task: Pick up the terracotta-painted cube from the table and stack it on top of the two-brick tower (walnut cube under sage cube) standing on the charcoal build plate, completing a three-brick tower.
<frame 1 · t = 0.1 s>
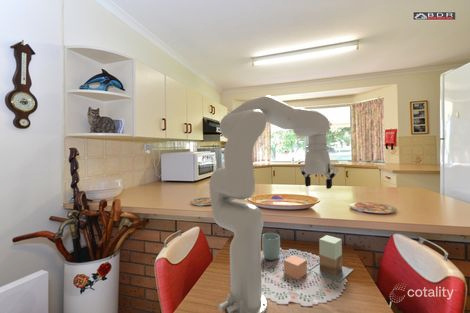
hand: (318, 187, 97), 31 cm above the table, fingers open, 9 cm apart
build plate: (330, 271, 86), on the table
terracotta brick: (295, 275, 84), on the table
cup: (271, 258, 98), on the table
sage brick: (330, 254, 86), point 7 cm above the table, touching walnut brick
walnut brick: (330, 269, 86), point 1 cm above the table, touching build plate, sage brick
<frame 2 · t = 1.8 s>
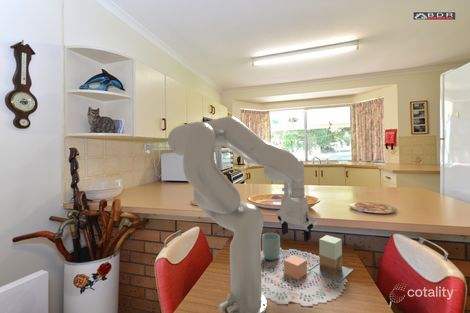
hand: (295, 236, 84), 15 cm above the table, fingers open, 9 cm apart
nothing on the table moved.
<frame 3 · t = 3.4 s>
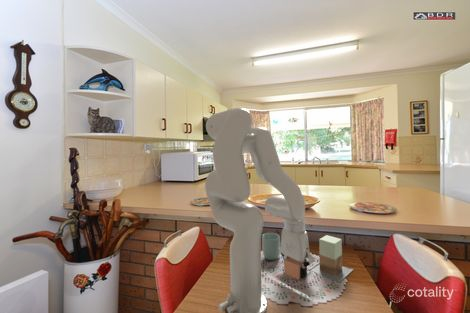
hand: (295, 273, 84), 1 cm above the table, fingers closed on terracotta brick, 6 cm apart
terracotta brick: (295, 275, 84), on the table, touching gripper
everything else where it was.
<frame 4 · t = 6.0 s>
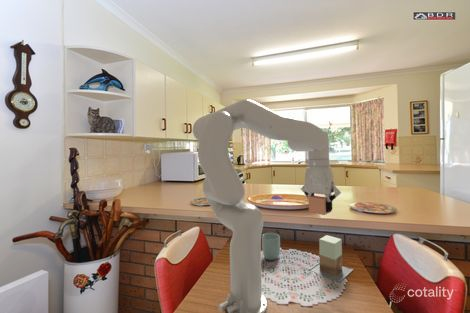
hand: (320, 209, 85), 24 cm above the table, fingers closed on terracotta brick, 6 cm apart
terracotta brick: (320, 211, 85), point 24 cm above the table, touching gripper
everything else where it was.
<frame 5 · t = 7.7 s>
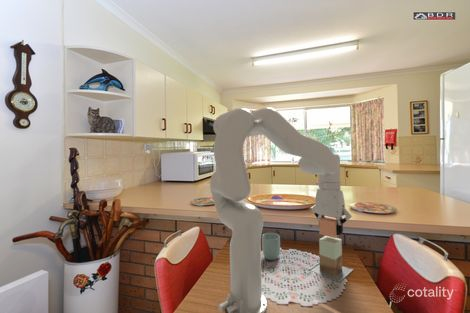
hand: (330, 231, 86), 16 cm above the table, fingers closed on terracotta brick, 6 cm apart
terracotta brick: (330, 233, 86), point 15 cm above the table, touching gripper
everything else where it was.
when the fingers open (14 cm above the table, at t = 8.8 s): terracotta brick stays where it is, resting on sage brick.
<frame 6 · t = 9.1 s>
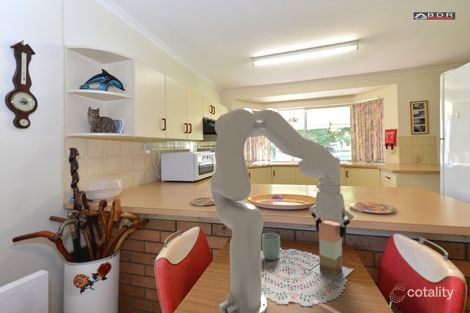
hand: (330, 233, 86), 15 cm above the table, fingers open, 8 cm apart
terracotta brick: (330, 239, 86), point 13 cm above the table, touching sage brick
sage brick: (330, 254, 86), point 7 cm above the table, touching terracotta brick, walnut brick
everything else where it was.
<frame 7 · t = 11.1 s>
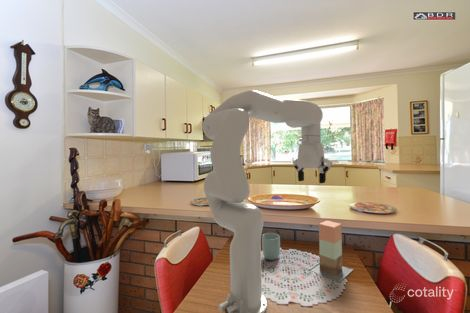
hand: (311, 181, 91), 34 cm above the table, fingers open, 9 cm apart
nothing on the table moved.
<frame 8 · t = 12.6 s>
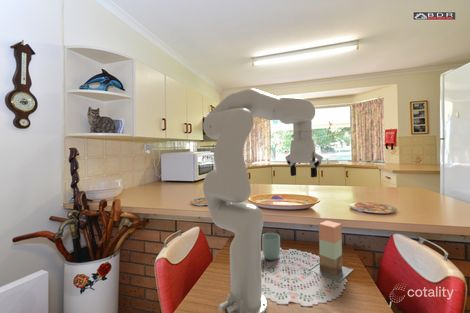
hand: (303, 176, 95), 36 cm above the table, fingers open, 9 cm apart
nothing on the table moved.
at the end: terracotta brick 0.0 cm off-centre on the sage brick, point 6.0 cm above the sage brick's base; terracotta brick tilted 0°; walnut brick moved 0.1 cm from its start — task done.
